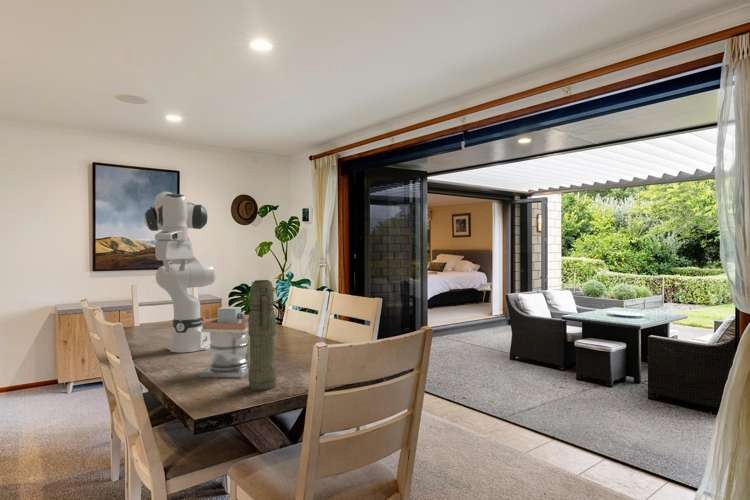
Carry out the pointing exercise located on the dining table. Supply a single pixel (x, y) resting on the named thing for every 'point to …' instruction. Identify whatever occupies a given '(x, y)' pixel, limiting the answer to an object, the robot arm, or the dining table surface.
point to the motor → (227, 349)
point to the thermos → (262, 336)
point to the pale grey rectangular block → (229, 315)
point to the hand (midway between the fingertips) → (175, 271)
